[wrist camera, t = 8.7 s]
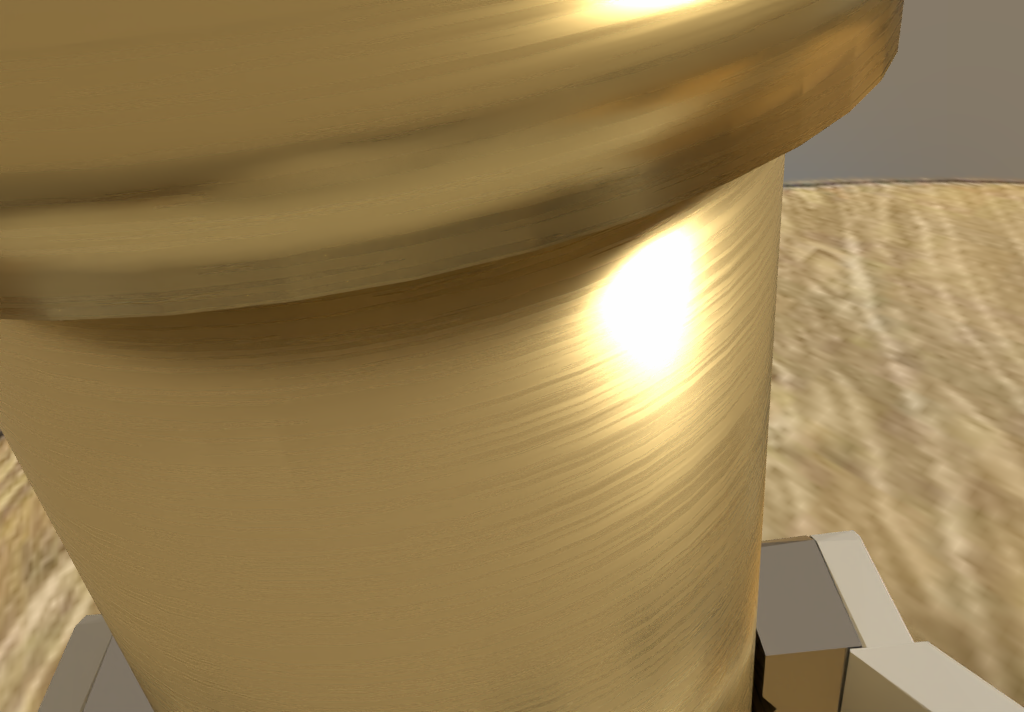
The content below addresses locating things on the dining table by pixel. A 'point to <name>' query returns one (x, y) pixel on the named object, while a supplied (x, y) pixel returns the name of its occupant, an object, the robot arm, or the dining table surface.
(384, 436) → the brass capped peg
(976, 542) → the dining table surface
